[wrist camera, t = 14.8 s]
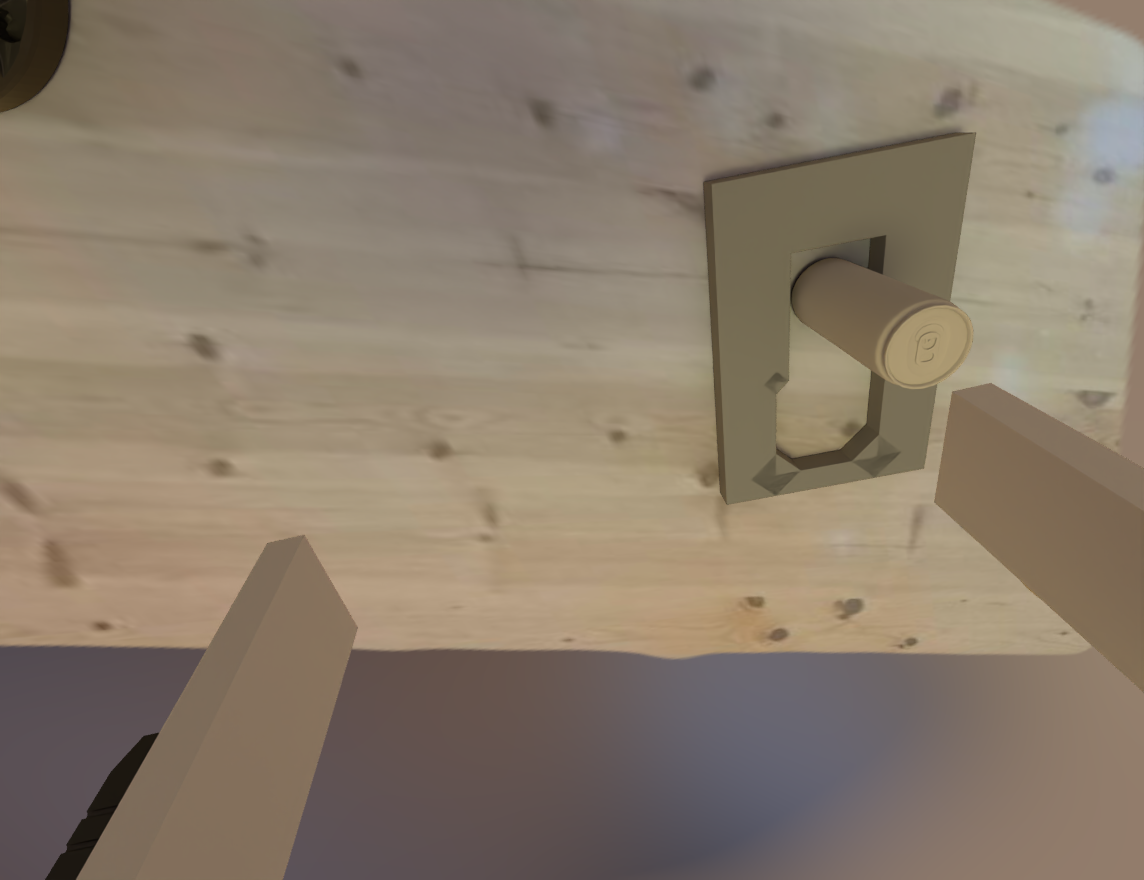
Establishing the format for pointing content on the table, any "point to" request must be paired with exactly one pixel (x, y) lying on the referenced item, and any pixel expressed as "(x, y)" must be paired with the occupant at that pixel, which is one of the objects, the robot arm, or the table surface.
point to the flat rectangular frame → (762, 298)
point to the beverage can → (883, 322)
